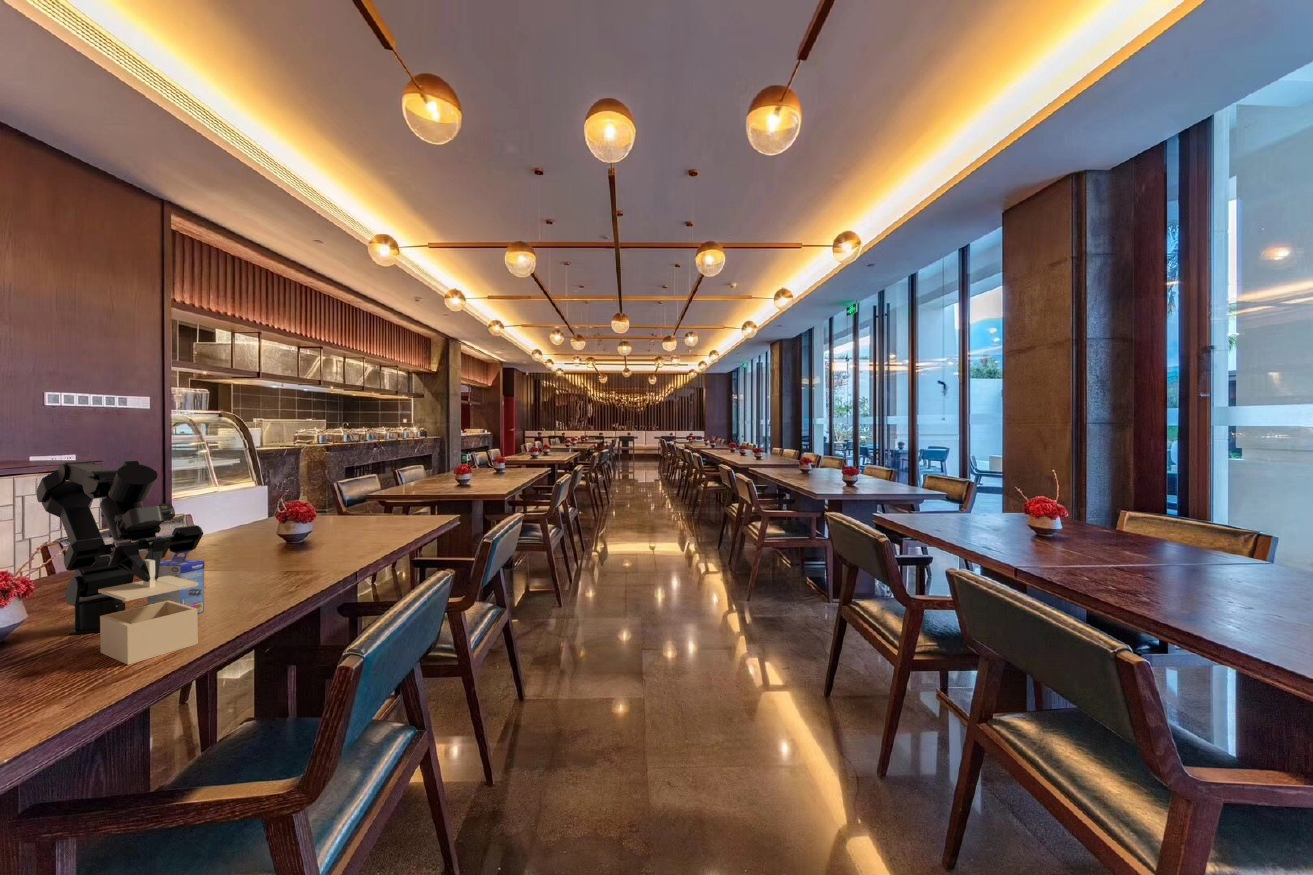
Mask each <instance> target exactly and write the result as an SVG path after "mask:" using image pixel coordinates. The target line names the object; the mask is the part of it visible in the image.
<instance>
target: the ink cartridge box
mask: <svg viewBox="0 0 1313 875" xmlns="http://www.w3.org/2000/svg"><path fill="white" fill-rule="evenodd" d="M190 552H191V551H187V552H181V553H174V555H173V557H172V558H171V559H167V560H166V559H165V560H161V561H160V569H159V577H163V576H174V577H178V578H182V579H186V580H190V581H194V582H198V586H194V587H190V588H185V589H180V590H176V591H171V592H166V593H162V594H157V595H153V596H148V597H147V605H151V604H155V603H159V602H164V601H168V600H170V601H173V602H176V603H180V604H183V605H187V606H190V607H193V608H197V615H198V614H203V613H205V562H206V561H205V560H200V559H187V558H188V556H189V554H190ZM179 554H183V555H184V556H178V555H179Z"/></svg>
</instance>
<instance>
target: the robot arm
mask: <svg viewBox="0 0 1313 875" xmlns="http://www.w3.org/2000/svg"><path fill="white" fill-rule="evenodd" d="M157 479H158V473H157V471H156V470H154V469H153V468H152V467H150V466H147V465H146V464H145V465H143V464H140V463H139V461H138V460H124V462H123V463H122V466H121V467H119V468H118V469H109V468H106V467H103V466H100V465H97V464H96V463H95V462H91V461H66V462H64V463H60V464H59V466H58V468H57V469H56V470H54V471H52V472H51V473H49V474H47V475H46V476H44V477H42V478H41V480H40V482H39V485H38V486H37V489H36V499H37V502H38V503H41V505H42V507H43V508H44V511H45V512H46V513H49V514H51V515H53V516H55V517H58V518H59V519H60V521H61V524H62V525H63V528H64V530H65V533H66V536H67V539H68V541H69V545H68V548H67V550H66V552H65V555H64V557H63V565H64V567H65V570H66V571H69V572H70V571H71V572H72V571H74V574H72V575H73V576H72V578H71V579H70V582H69V585H68V587H67V589H66V591H65V595H64V596H65V602H66V604H67V605H69V606H72V607H74V629H73V630H71V631H68V635H79V634H88V633H98V632H100V616H102V615H107V614H111V613H115V612H120V611H124V610H126V601H123V600H120V599H117V598H114V597H111V596H107V595H104V594H101V593H98V589H103V588H108V587H113V586H118V585H123V584H129V583H134V577H137V578H139V579H140V580H141V581H143V580H144V581H145V582H149V580H150V575H149V572H148V570H147V568H146V566H145V564H144V562H143V560H146V559H151V560H155V580H157V579H158V577H159V569H160V561H162V559H163V558H165V557H166V555H167V553H168V551H170V553H174V554H175V553H181V552H187V551H190V552H191V551H193V550H195V549H196V548H197V547H198V546H199V543H200V541H201V539H202V537H203V535H204V534H205V533H204V531H203V529H202V527H201V526H199V525H197V524H196V525H195V524H194V525H187V526H179V527H178V526H177V527H175V528H174V529H173V531H172V533H171V534H166V535H159V536H157V534H159V533H160V532H161V530H162V527H161V526H160V525H161V524H163V523H165V522H166V521H167V522H168V521H171V520H173V519H174V518H175V517H176V512H175V508H174V506H173V504H172V503H171V502H169V503H160V504H159V505H155V506H154V505H153V506H144V505H143V501H146V500H148V498H149V495H150V494H151V492H152V489H153V487H154V485H155V483H156V480H157ZM96 499H102V500H101V501H100V503H99V508H100V517H102V518H104V521H105V523H106V525H107V528H108V532H107V537H108V538H112V540H113V541H112V543H107V544H106V543H105V540H104V538H103V536H102V533H101V531H100V529H99V526H98V524H97V522H96V520H95V517H94V514H93V512H92V510H91V506H92V503H93V501H94V500H96ZM141 551H145V553H146V554H145V557H144V559H143V558H142V556H141V554H140V552H141ZM181 554H182V553H181Z"/></svg>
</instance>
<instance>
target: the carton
mask: <svg viewBox="0 0 1313 875" xmlns="http://www.w3.org/2000/svg"><path fill="white" fill-rule="evenodd" d="M198 621H199V620H198V614H197V608H193V607H190V606H187V605H183V604H180V603H176V602H173V601H170V600H168V601H164V602H159V603H155V604H151V605H148V604H147V605H143V606H139V607H134V608H129V609H125V610H124V611H120V612H115V613H111V614H107V615H102V616H100V633H99V634H100V639H99V640H100V642H99V643H100V653H101V654H103V655H104V656H105V655H106V656H107V657H109V658H112V659H114V660H117V661H118V662H120V663H123V664H125V665H133V664H135V663H139V662H142V661H145V660H149V659H152V658H156V657H159V656H162V655H167V654H169V653H173V652H175V651H179V650H183V649H185V648H189V647H192V646H196V645H199V642H198V641H199V640H198V638H199V636H198V635H199V630H198Z"/></svg>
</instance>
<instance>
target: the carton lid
mask: <svg viewBox="0 0 1313 875" xmlns="http://www.w3.org/2000/svg"><path fill="white" fill-rule="evenodd" d="M142 560H143V562H144V564H145V566H146V568H147V570H148V572H149V575H150V580H149V582H145V581H144V580H140V581H135V582H134V581H133V583H129V584H123V585H118V586H113V587H108V588H103V589H98V593H101V594H104V595H107V596H111V597H114V598H117V599H120V600H123V602H129V601H133V600H138V599H143V598H148V596H153V595H157V594H162V593H166V592H171V591H176V590H180V589H185V588H190V587H194V586H198V582H194V581H190V580H186V579H182V578H178V577H174V576H163V577H158V579H157V580H155V560H151V559H146V560H144V559H142Z"/></svg>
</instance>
